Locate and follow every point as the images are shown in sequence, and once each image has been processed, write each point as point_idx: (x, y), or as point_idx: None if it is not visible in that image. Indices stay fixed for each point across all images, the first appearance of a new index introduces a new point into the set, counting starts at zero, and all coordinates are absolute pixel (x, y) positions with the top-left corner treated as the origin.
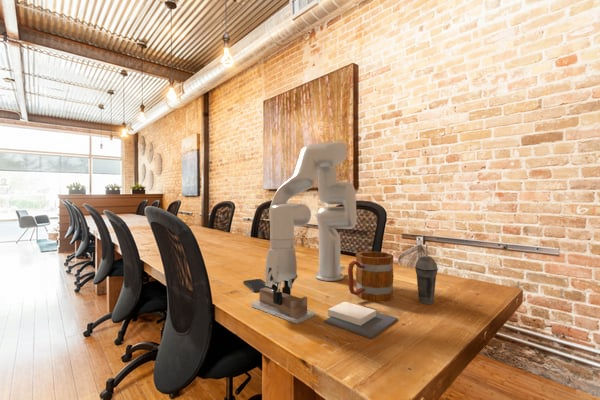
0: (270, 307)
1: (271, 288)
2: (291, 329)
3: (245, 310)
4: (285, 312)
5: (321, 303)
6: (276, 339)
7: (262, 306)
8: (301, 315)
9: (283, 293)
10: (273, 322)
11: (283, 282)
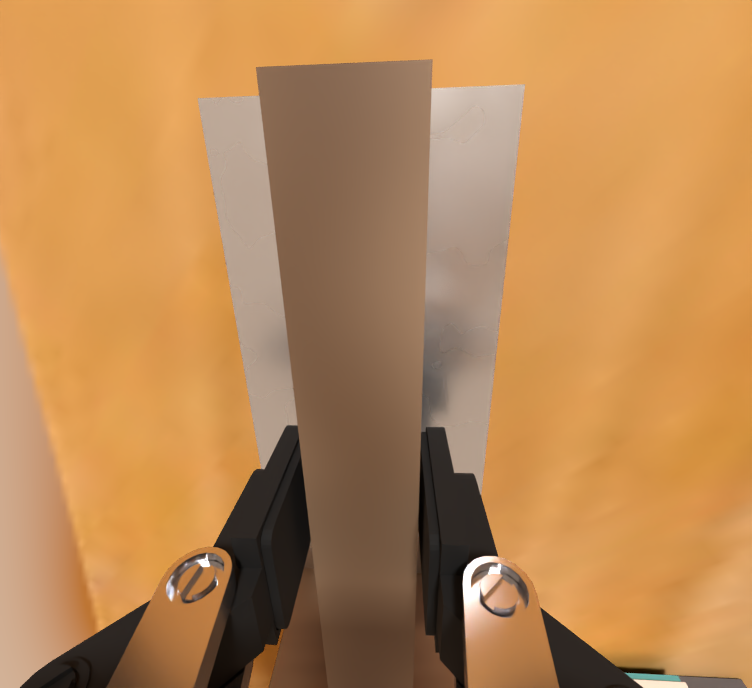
0: (288, 369)
1: (107, 643)
2: None
3: (118, 155)
4: None
5: (712, 528)
6: (107, 614)
7: (241, 294)
8: None
9: (403, 523)
10: (197, 498)
11: (467, 661)
